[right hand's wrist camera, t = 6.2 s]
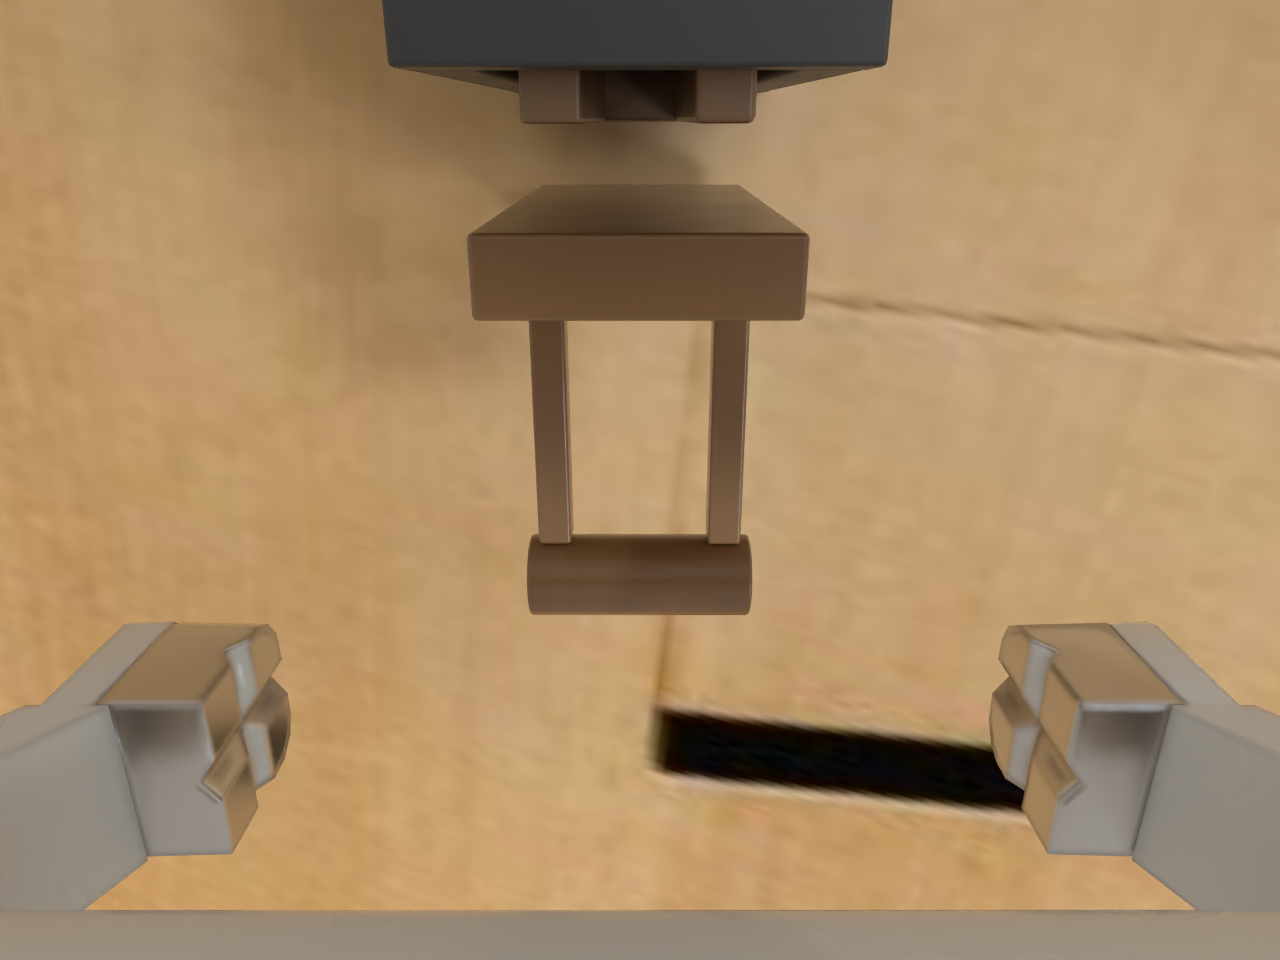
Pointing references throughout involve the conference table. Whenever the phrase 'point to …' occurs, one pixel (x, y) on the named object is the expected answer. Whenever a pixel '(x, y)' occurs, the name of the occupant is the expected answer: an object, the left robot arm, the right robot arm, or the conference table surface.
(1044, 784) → the right robot arm
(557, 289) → the drawer
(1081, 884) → the conference table surface
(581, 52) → the cabinet
